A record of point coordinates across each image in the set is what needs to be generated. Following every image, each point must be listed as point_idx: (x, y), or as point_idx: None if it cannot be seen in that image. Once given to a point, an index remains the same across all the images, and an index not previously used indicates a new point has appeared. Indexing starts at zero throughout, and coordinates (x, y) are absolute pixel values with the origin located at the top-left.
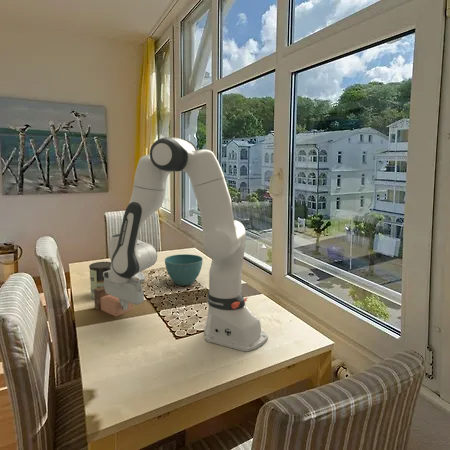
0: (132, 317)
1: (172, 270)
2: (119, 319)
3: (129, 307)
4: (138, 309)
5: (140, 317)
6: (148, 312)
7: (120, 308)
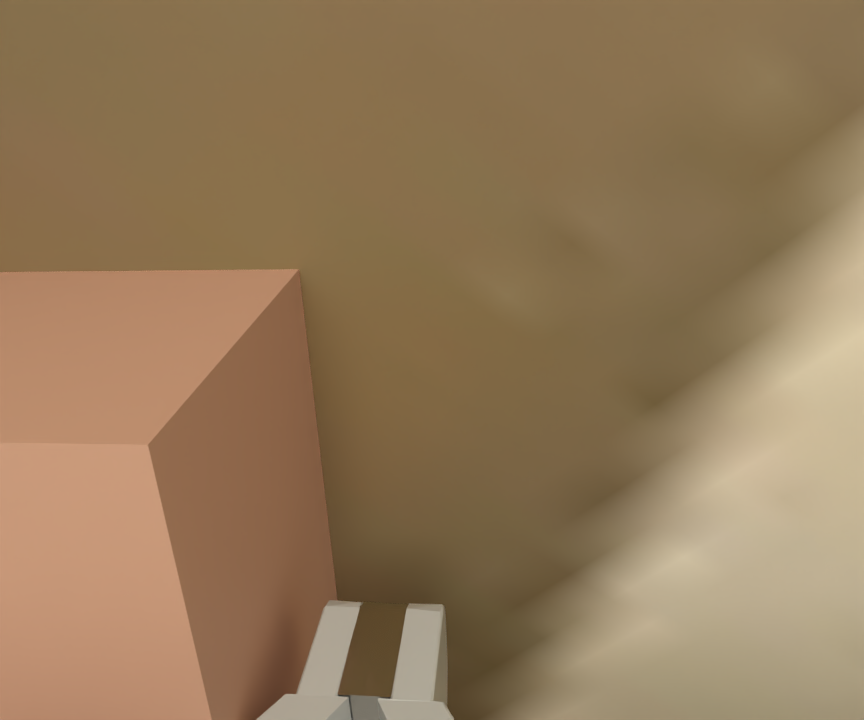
0: (666, 526)
1: None
2: (523, 702)
3: (283, 411)
4: (385, 142)
5: (836, 423)
6: (807, 71)
7: None
